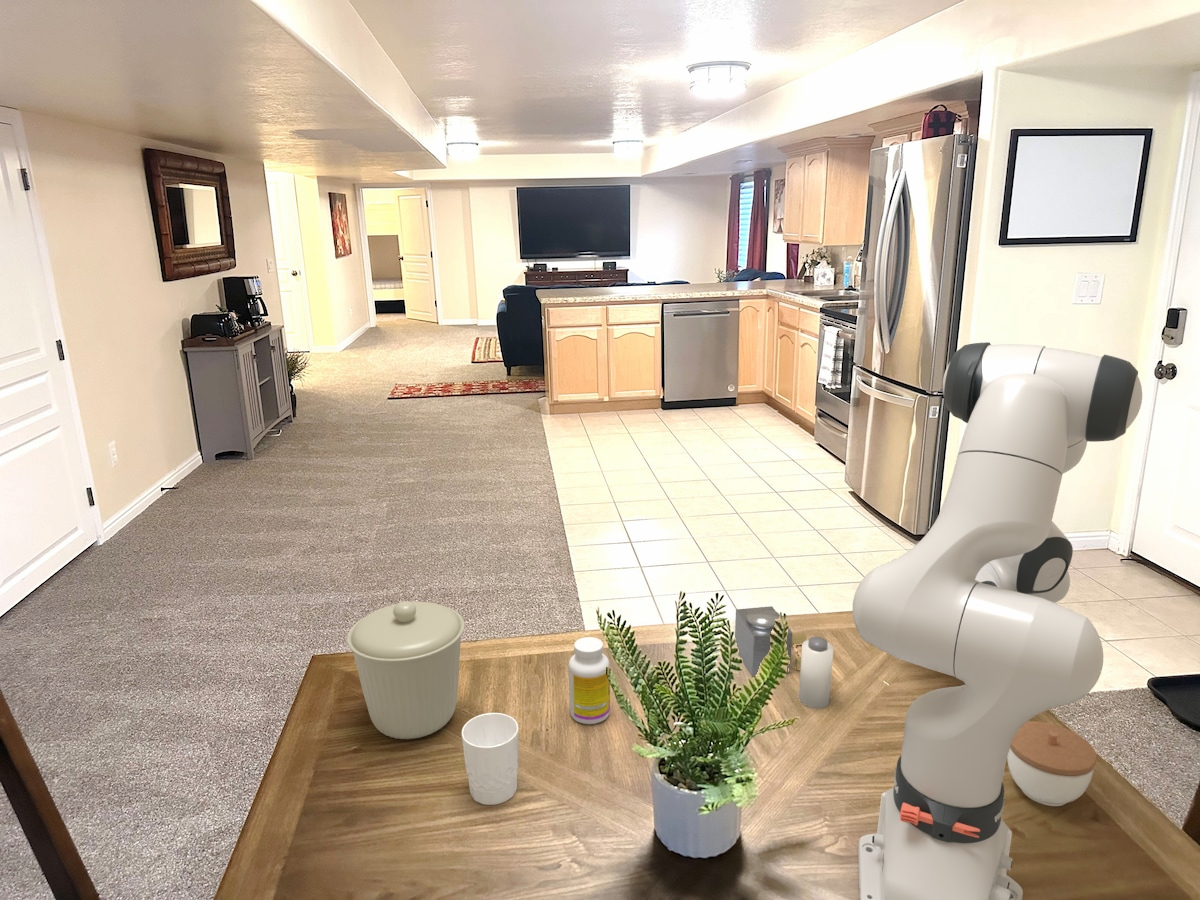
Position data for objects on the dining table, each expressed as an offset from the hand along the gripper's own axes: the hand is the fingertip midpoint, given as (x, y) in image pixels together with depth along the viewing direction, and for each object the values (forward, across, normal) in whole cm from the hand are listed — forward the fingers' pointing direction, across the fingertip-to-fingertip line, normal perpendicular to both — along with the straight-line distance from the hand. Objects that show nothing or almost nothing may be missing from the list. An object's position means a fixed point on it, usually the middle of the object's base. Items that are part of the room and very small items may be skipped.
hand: (891, 595), depth 131 cm
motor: (+13, -15, +18) cm, 27 cm away
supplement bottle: (+50, -3, +18) cm, 53 cm away
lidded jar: (-10, +27, +18) cm, 34 cm away
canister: (+78, -6, +18) cm, 81 cm away
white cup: (+66, +13, +18) cm, 70 cm away
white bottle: (+12, 0, +18) cm, 22 cm away
